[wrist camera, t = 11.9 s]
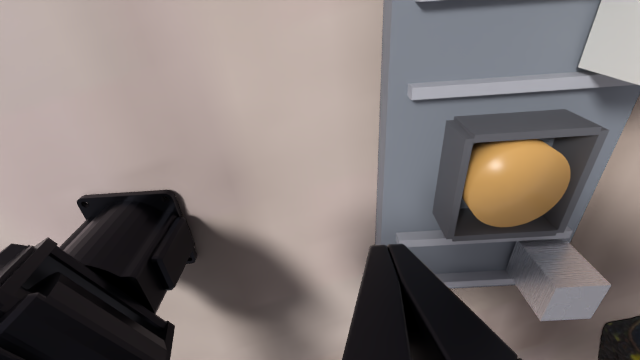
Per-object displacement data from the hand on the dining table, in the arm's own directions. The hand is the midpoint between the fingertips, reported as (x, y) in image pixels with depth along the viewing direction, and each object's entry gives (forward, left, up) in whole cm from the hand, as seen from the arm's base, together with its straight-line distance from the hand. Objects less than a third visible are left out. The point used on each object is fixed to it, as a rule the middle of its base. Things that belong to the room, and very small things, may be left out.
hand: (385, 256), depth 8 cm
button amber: (+8, -3, -10) cm, 13 cm away
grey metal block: (+12, -11, -10) cm, 19 cm away
